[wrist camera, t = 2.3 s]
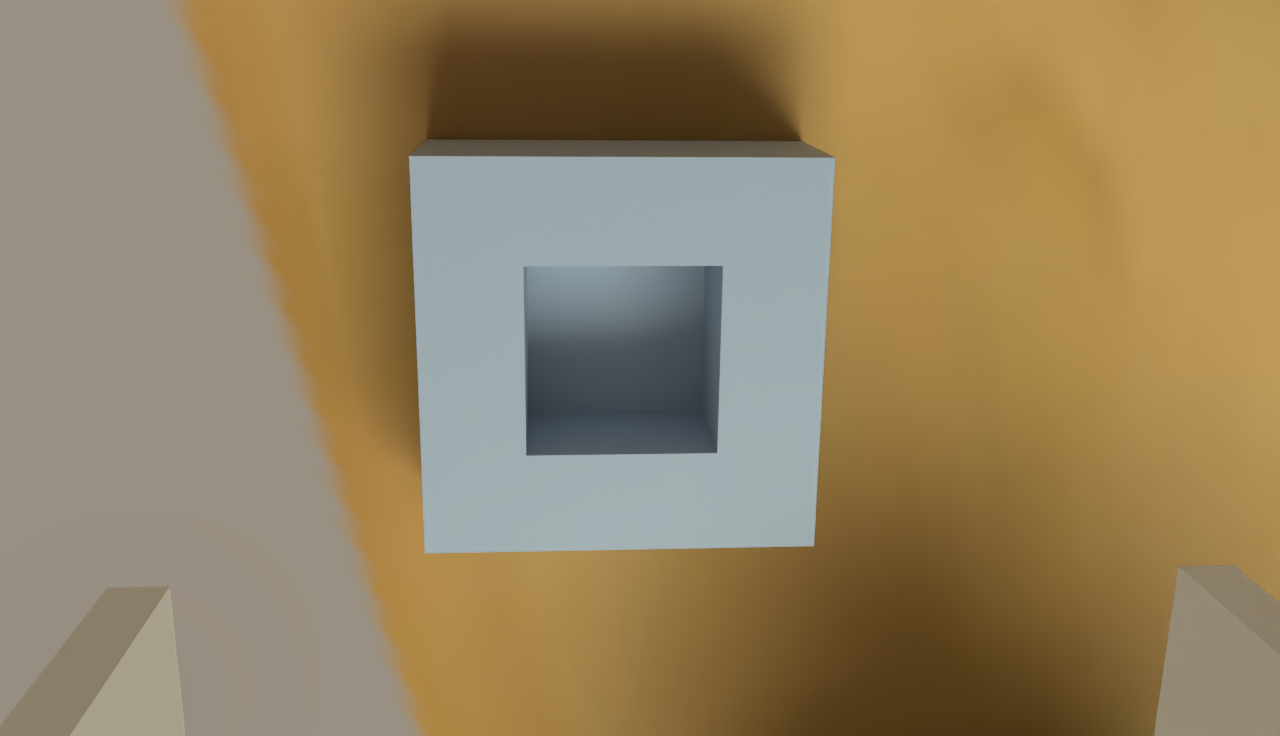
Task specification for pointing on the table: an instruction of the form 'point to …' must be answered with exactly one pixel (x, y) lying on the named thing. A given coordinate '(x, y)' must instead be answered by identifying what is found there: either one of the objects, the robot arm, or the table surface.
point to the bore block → (619, 342)
